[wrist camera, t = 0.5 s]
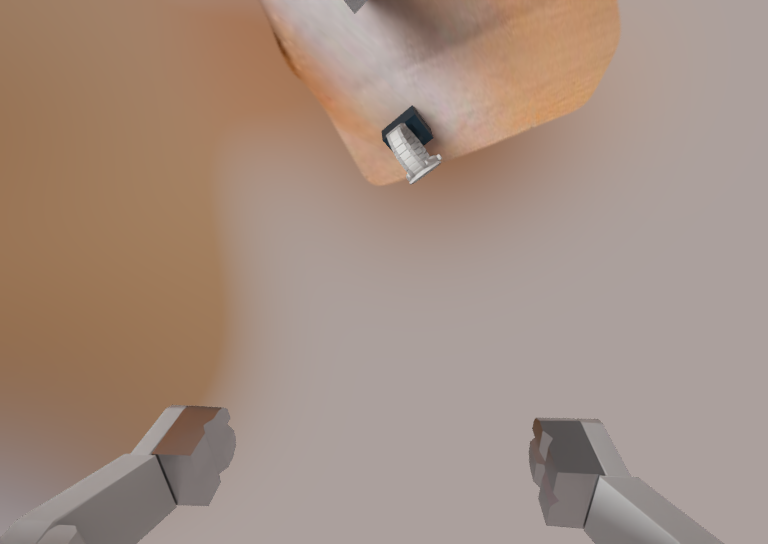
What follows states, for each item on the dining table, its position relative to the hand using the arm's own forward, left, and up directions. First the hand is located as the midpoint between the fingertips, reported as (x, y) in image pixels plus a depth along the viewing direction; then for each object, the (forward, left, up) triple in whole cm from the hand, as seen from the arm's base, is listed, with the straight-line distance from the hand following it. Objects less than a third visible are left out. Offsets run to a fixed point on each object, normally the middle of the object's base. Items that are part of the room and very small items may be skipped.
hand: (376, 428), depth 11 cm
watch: (+14, -4, -51) cm, 53 cm away
